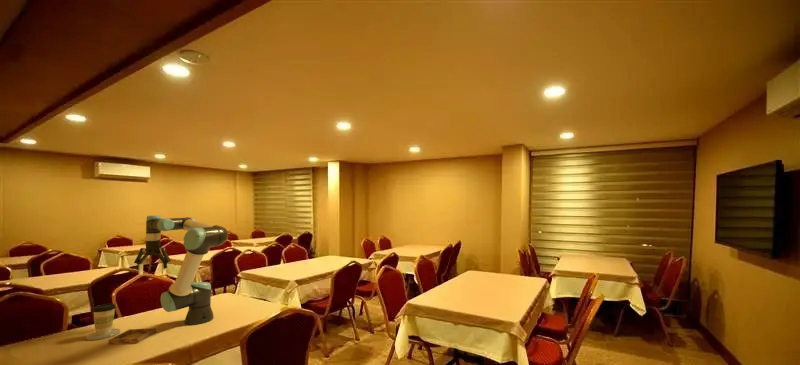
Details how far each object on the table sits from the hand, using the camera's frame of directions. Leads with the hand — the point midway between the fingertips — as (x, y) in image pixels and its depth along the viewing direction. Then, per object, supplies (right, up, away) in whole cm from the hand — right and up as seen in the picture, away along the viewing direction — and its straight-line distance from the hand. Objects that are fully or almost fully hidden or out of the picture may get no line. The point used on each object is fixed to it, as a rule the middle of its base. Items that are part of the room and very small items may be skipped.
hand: (152, 274), depth 204 cm
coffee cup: (-10, -27, -22) cm, 36 cm away
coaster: (-10, -28, -23) cm, 37 cm away
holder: (+10, -27, -27) cm, 40 cm away
